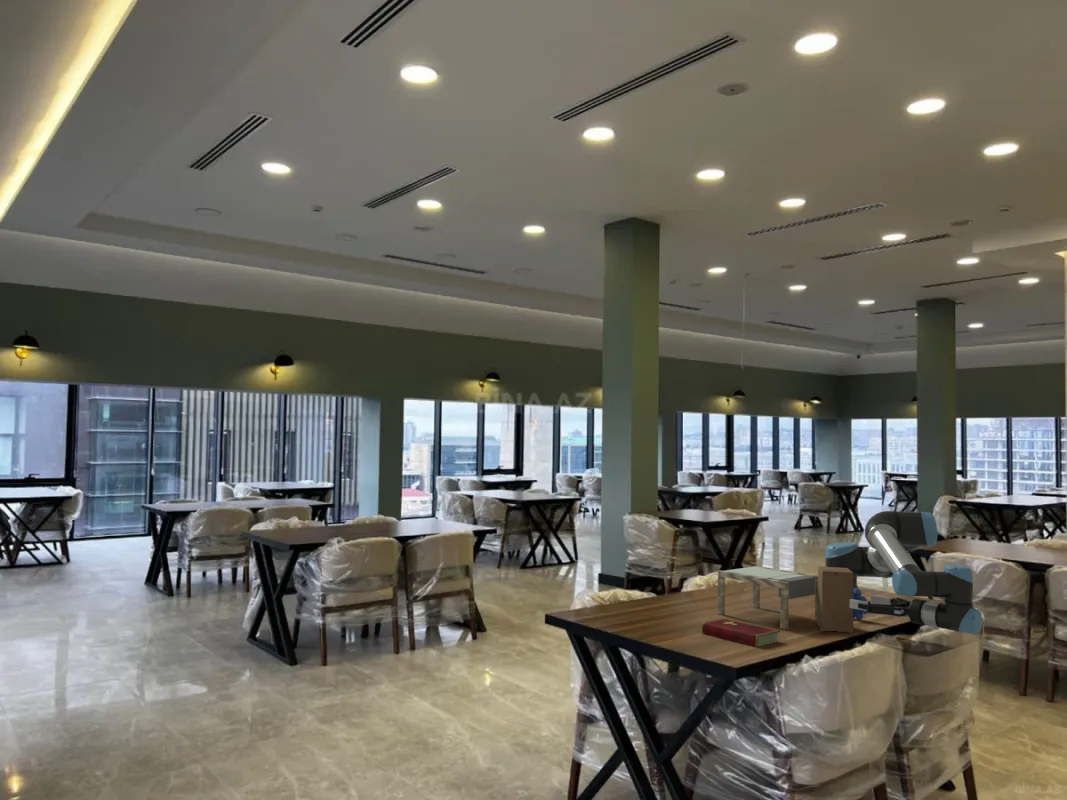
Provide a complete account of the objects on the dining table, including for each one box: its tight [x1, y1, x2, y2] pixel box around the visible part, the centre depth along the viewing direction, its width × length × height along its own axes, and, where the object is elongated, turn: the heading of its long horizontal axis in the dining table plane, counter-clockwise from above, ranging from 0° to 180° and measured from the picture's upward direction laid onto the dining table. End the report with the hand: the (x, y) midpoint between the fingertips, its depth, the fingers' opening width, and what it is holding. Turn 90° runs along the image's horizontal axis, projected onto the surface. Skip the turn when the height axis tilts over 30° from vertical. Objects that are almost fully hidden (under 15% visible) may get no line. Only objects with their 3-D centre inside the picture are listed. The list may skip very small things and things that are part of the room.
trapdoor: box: [725, 566, 815, 600], centre depth 289 cm, size 26×19×6 cm
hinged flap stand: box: [717, 565, 818, 630], centre depth 289 cm, size 28×23×16 cm
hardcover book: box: [701, 617, 780, 648], centre depth 258 cm, size 12×21×4 cm, turn 40°
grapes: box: [853, 587, 868, 621], centre depth 290 cm, size 12×7×12 cm, turn 43°
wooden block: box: [817, 566, 854, 634], centre depth 274 cm, size 10×10×20 cm
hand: (860, 601), depth 267 cm, fingers open, 13 cm apart
